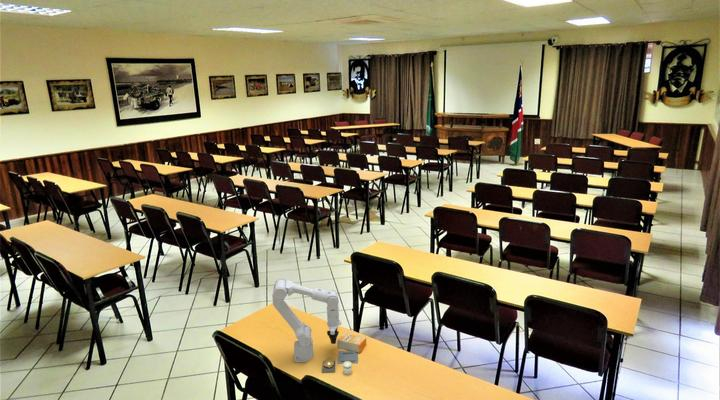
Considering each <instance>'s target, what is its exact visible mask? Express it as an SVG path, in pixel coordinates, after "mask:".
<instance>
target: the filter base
mask: <svg viewBox="0 0 720 400" xmlns="http://www.w3.org/2000/svg"><path fill="white" fill-rule="evenodd" d="M337 352H338V353H337V364H338V365H343V363H344V362H346V361H350V362H351V363H352V365H353V364H359V353H358V352H354V351H349V350H338V351H337Z"/></svg>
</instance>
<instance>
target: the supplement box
mask: <svg viewBox="0 0 720 400" xmlns="http://www.w3.org/2000/svg"><path fill="white" fill-rule="evenodd" d="M366 346H367V337H366V336H365V337H363V336H359V335H355V334H351V333H350V334H349V333H346V332H343V334H341V336H339V338H338V337H337V339H336V347H337V349H341V350H344V351H354V352H358V354H360V353H362V351H363V350H364V349H365V348H366Z"/></svg>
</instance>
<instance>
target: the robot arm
mask: <svg viewBox="0 0 720 400" xmlns="http://www.w3.org/2000/svg"><path fill="white" fill-rule="evenodd" d="M293 294H299V295H303V296H307V297H310V298H311V299H312V300H314V301H317V302H321V303H325V304H326V305H327V306H326V316H327V317H326V319H327V321H326V323H327V324H326V326H327V327H328V329H329V330H327V331H326V334H327V337H329V340H330V344H331V345H334V344H336V345H337V339H338V336H339V333H340V332H339V331H338V328H339V326H341V325H342V321H340V311H339V302H340V300H339V295H338V292H337V291H335V290H334V289H329V290H326V289H323V288H321V287H314V288H310V287H307V286H304V285H301V284H298V283H295V282H293V281H291V280H289V279H284V278H278V279H276V281H275V282H274V285H273V290H272V294H271V295H272V306H273V307H274V308H275V310H276V311H277V312H278V313H279V314H280V316H282V319H284V320H285V322H286V323H287V324H288V326H290V328H291V329H292V330H293V332H294V335H295V337H296V339H297V340H296V341H294V343H293V356H294V357H293V358H294V363H308V361H310V360H311V359H313V357H314V343H313V341H314V340H313V338H312V327H310V325H307V324H306V323H305V322H302V321H301V320H300V319H299V318H298V316H297V314H296V313H295V312H294V311H293V310H292V309H291V307H290V306H289V305H288V304H287V303H286V301H285V298H286V297H290V296H292V295H293Z"/></svg>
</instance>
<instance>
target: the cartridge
mask: <svg viewBox="0 0 720 400" xmlns="http://www.w3.org/2000/svg"><path fill="white" fill-rule="evenodd" d="M352 368H353V364H352V363H351V362H350V361H346V362H344V363H343V364H342V369H343V374H344V375H345V376H349V375H351V374H352V373H353V369H352Z"/></svg>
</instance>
